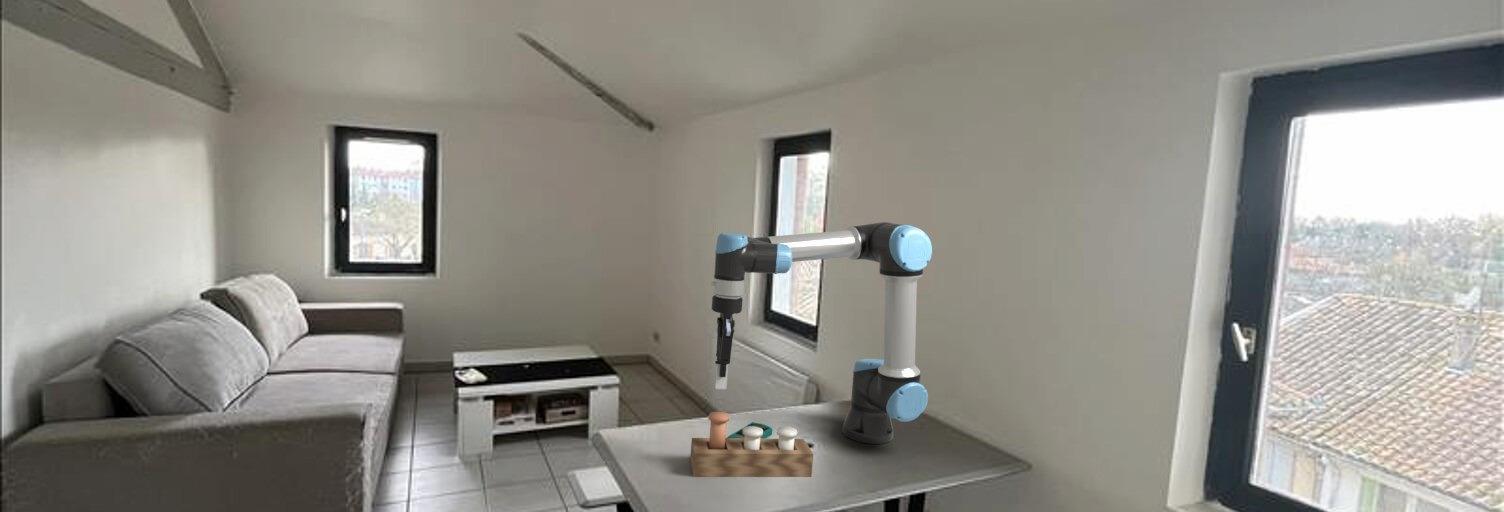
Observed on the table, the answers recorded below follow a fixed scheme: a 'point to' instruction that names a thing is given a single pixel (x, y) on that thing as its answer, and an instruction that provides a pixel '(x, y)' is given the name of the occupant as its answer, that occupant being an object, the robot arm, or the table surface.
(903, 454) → the table surface
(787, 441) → the plug near
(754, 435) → the plug mid
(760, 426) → the digital multimeter
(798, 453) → the board
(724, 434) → the plug terracotta
